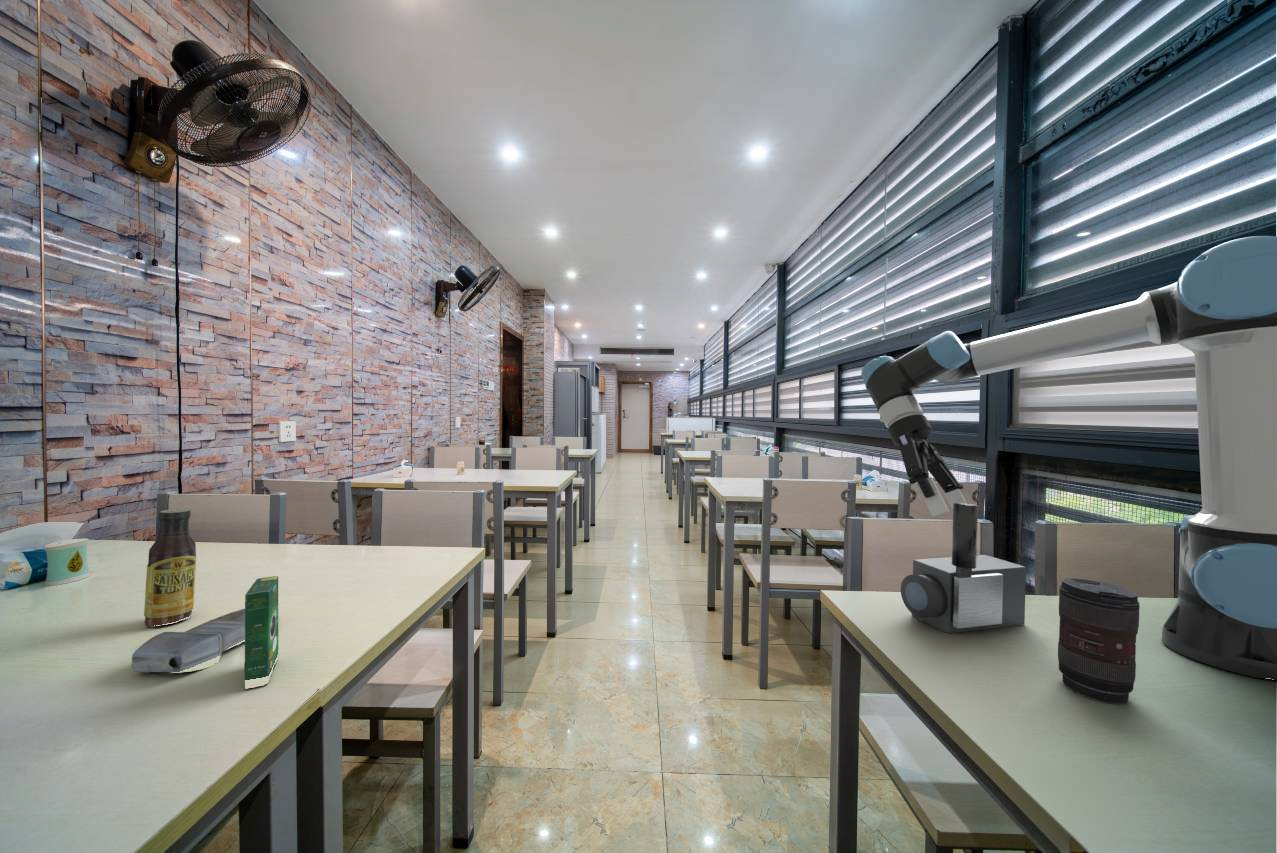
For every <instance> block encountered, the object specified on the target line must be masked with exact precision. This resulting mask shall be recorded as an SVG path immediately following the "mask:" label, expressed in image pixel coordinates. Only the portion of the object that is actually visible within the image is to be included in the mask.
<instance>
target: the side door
mask: <svg viewBox="0 0 1277 853" xmlns="http://www.w3.org/2000/svg"><path fill="white" fill-rule="evenodd" d="M978 513H979V505H978V504H975V503H968V502H967V503H953V510H952V533H951V534H952V537H951V538H952V539H951V557H952V565H954V566H956V576H954V605H953V626H954V627H956V628H958V629H959V628H968V627H977V626H985V625H994V624H1002V602H1003V574H1000V573H990V574H978V575H972V569H975V568H976V559H977V555H978V554H977V552H978V550H977V549H978V521H979V520H978V519H979V518H978V516H979V514H978Z"/></svg>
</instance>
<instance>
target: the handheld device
mask: <svg viewBox="0 0 1277 853" xmlns="http://www.w3.org/2000/svg"><path fill="white" fill-rule="evenodd" d="M243 640H245V607H244V608H241V609H239V610H236V611H232V612H229V613H227V614H224V615H220V616H218V617H216V618H213V619H210V620H208V621H205V622H203V623H201V624H199V625H197V626H194V627H192V628H190V629H188V630H187V629H186V630H185V631H163V632H161V633H158V634H156V635H153V637H151V638H150V639H148V640H146V641H145V642H144V643H142V644H141V645H140V646H139V647H137V649H136V650H134V652H133V653H132V655H131V670H132V672H134V671H137V672H136V673H149V672H180V671H183V670H185V669H189V668H191V667H194V666H196V665H198V664H201V663H203V662H206V661H208V660H211V659H213V658H216V657H217V656H219V655H221V656H222V654H223V653H224V652H223V651H224V650H226V649H228V648H229V647H231V646H233V645H235V644H237V643H239V642H241V641H243ZM222 652H223V653H222Z"/></svg>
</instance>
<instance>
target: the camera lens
mask: <svg viewBox="0 0 1277 853" xmlns="http://www.w3.org/2000/svg"><path fill="white" fill-rule="evenodd" d="M1058 591H1059V593H1058V596H1059V597H1058V615H1059V626H1058V627H1059V630H1058V634H1059V635H1058V642H1057V660H1058V670H1059V671H1060V672H1061V674H1062V676H1061V677H1062V682H1063V685H1065V687H1067V688H1068V687H1069V688H1068V689H1070V690H1071V689H1072V690H1071V691H1072V692H1074V691H1075V692H1074V693H1076V692H1078V693H1080V694H1079V695H1081V694H1082V695H1081V696H1083V695H1084V696H1083V697H1085V696H1086V698H1088V697H1089V698H1088V699H1091V698H1092V699H1091V700H1094V699H1095V700H1094V701H1097V700H1098V701H1097V702H1101V701H1102V702H1101V703H1107V704H1114V705H1120V704H1126V703H1128V701H1129V697H1130V693H1132V692H1133V691H1134V685H1135V681H1136V671H1137V663H1136V657H1137V656H1136V655H1137V654H1136V653H1137V651H1136V650H1137V645H1136V643H1137V635H1138V633H1139V627H1140V602H1139V598H1138V597H1139V596H1138V594H1137V593H1136V592H1134V591H1133V590H1130V589H1127V588H1124V587H1121V586H1118V585H1115V584H1110V583H1107V582H1101V581H1096V580H1089V579H1083V578H1081V579H1080V578H1073V577H1072V578H1064V579H1062V580H1061V585H1059V590H1058ZM1078 693H1077V694H1078Z"/></svg>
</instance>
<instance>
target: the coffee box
mask: <svg viewBox="0 0 1277 853" xmlns="http://www.w3.org/2000/svg"><path fill="white" fill-rule="evenodd" d="M244 608H245V643H244V663H243V664H244V665H243V666H244V671H243V672H244V674H243V676H244V677H243V680H250V679H256V678H262V677H266V676H269V674H270V672H271V670H272V667H273V665H274V663H275V660H276V658H277V655H278V656H279V576H277V575H276V576H275V575H274V576H266V577H265V576H264V577H260V578H259V577H258V578H256V580H255V581H254V582H253V584H252V585H251V586H250V588H249V589H248V590H247V592H246V593H245V595H244Z"/></svg>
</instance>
